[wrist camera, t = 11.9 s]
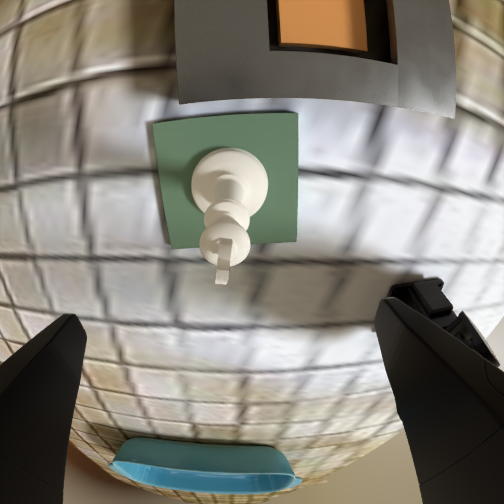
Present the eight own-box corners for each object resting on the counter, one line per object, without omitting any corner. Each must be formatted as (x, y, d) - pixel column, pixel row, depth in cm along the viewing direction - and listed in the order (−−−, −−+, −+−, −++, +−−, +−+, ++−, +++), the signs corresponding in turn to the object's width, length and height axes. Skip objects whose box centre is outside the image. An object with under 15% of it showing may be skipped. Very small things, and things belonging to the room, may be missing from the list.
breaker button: (359, 53, 14) (367, 51, 13) (278, 46, 14) (281, 42, 13) (354, -13, 11) (361, -19, 10) (274, -23, 11) (276, -30, 10)
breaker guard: (420, 111, 16) (454, 118, 13) (191, 102, 16) (179, 104, 12) (411, -26, 10) (440, -39, 7) (186, -49, 10) (176, -76, 6)
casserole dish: (130, 458, 49) (126, 483, 43) (97, 420, 38) (89, 454, 32) (287, 467, 52) (290, 493, 46) (309, 433, 41) (316, 469, 35)
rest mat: (294, 237, 21) (296, 241, 21) (173, 245, 21) (171, 249, 20) (296, 112, 16) (298, 113, 16) (154, 122, 16) (152, 124, 16)
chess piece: (274, 153, 17) (312, 217, 9) (261, 223, 20) (278, 332, 11) (195, 143, 17) (149, 198, 8) (188, 215, 19) (154, 319, 10)
